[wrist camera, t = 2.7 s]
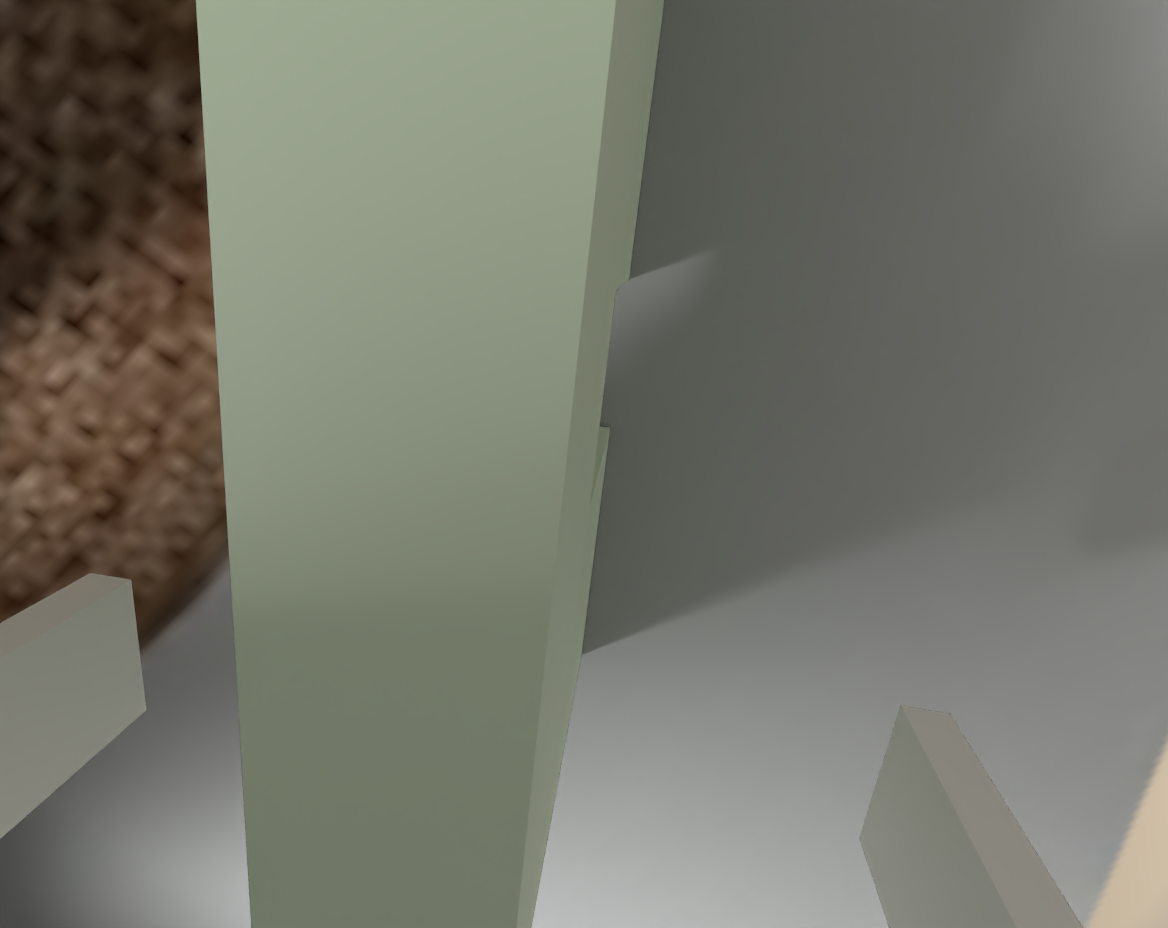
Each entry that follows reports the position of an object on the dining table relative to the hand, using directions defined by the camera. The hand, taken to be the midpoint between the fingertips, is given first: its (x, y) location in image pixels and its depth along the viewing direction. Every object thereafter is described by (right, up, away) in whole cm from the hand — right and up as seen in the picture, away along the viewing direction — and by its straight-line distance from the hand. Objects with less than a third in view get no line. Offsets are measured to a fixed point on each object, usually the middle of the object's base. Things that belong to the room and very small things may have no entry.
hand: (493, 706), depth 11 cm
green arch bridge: (+1, +7, +4) cm, 8 cm away
